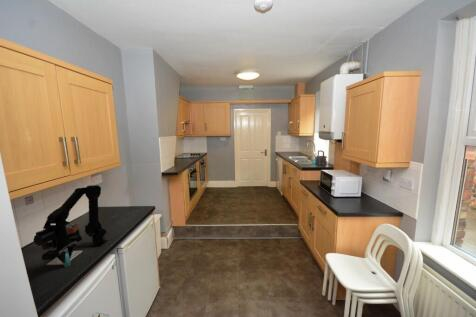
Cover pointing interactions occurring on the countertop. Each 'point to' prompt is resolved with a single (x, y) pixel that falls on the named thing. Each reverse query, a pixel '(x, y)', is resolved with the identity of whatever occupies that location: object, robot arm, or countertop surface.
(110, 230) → the countertop surface
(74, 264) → the countertop surface
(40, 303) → the countertop surface
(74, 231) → the battery
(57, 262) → the notepad
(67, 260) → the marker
